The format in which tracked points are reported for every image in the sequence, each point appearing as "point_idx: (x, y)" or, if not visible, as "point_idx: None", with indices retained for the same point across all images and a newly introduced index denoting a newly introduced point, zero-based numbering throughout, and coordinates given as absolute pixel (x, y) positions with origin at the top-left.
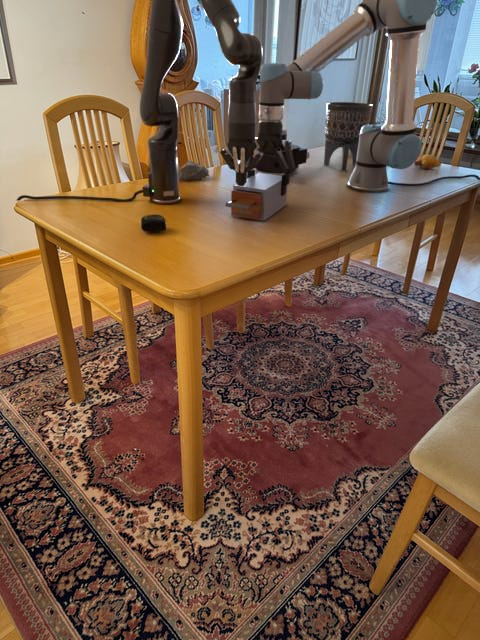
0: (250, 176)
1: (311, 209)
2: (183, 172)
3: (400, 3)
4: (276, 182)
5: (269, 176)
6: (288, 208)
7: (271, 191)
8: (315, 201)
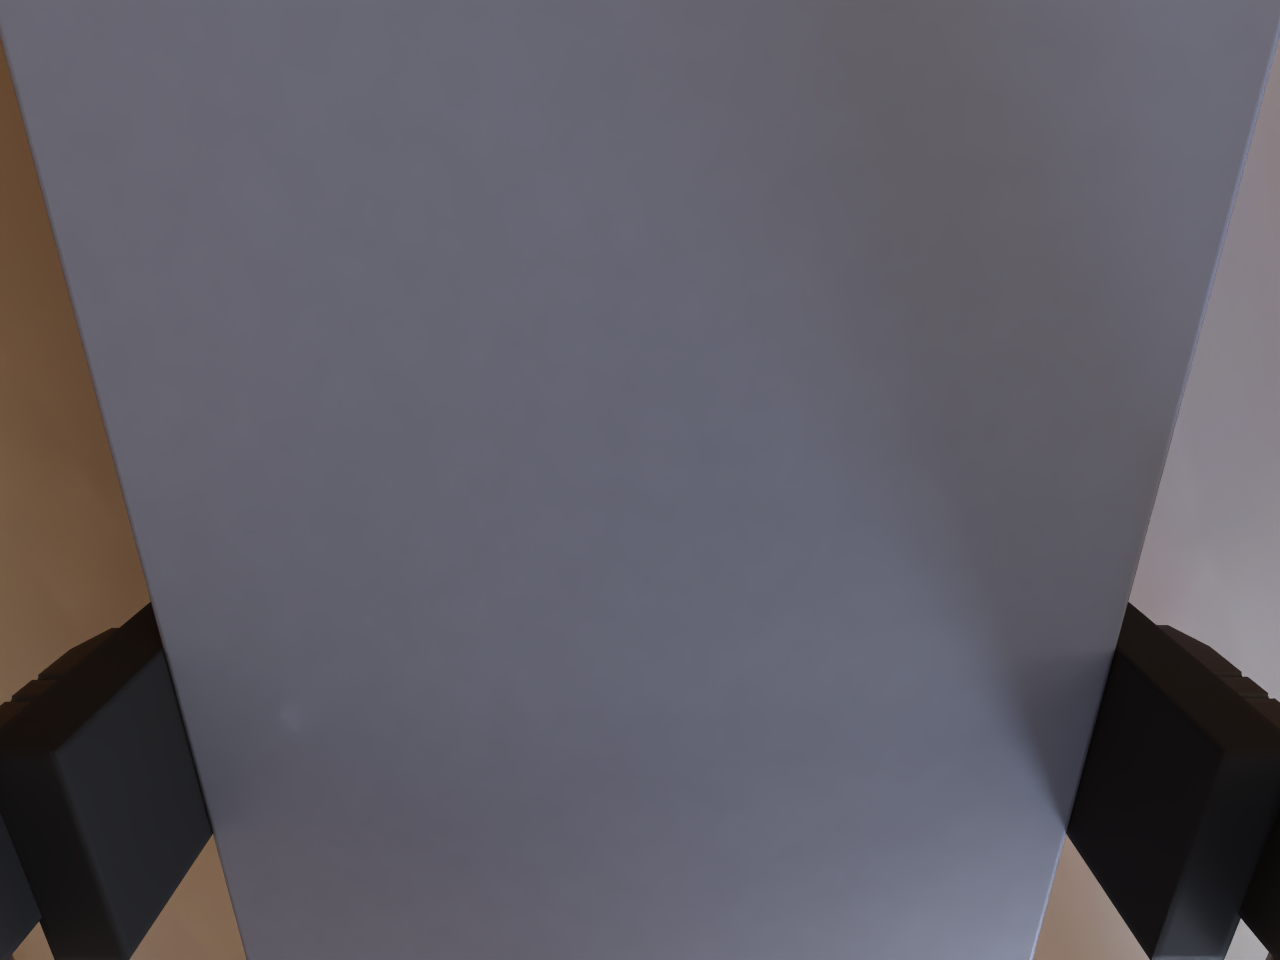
0: (1149, 646)
1: (71, 614)
2: None
3: None
4: (106, 313)
5: (645, 843)
6: None
7: None
8: (218, 901)
